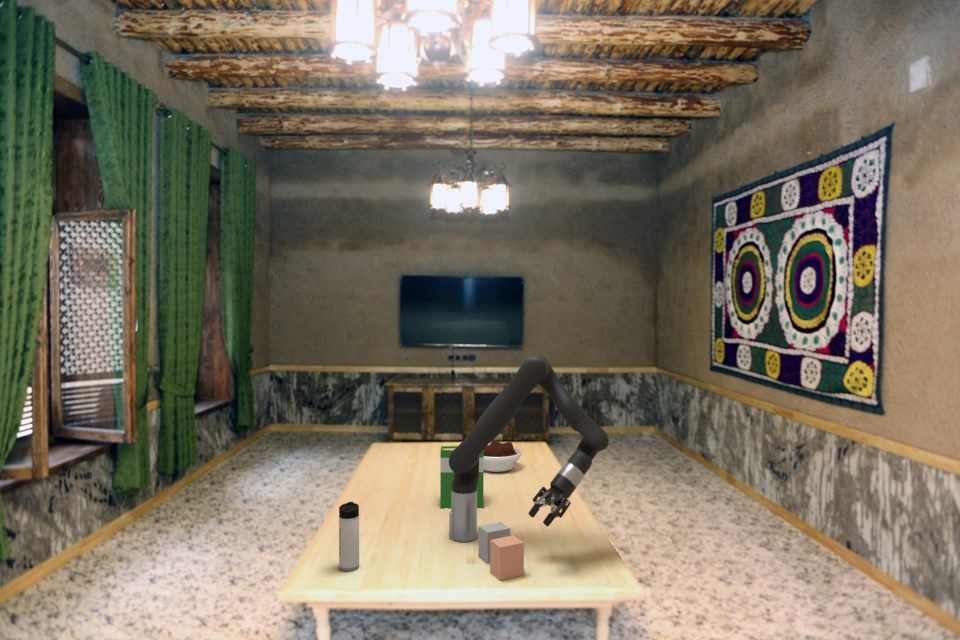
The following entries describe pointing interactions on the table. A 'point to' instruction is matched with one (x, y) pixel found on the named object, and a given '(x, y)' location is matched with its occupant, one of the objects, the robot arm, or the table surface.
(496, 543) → the terracotta clay block
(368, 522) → the table surface
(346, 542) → the travel mug
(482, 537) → the grey upright block
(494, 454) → the chocolate pudding bowl
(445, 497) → the hardback book
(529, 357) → the robot arm
